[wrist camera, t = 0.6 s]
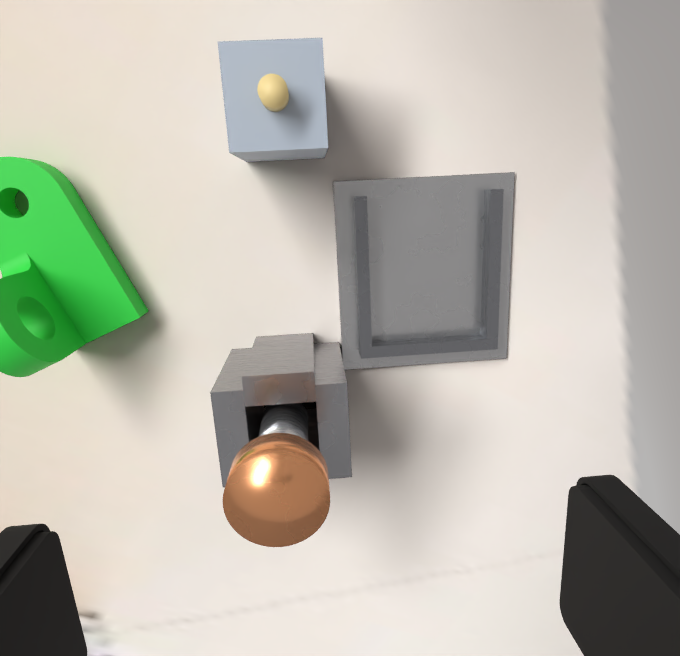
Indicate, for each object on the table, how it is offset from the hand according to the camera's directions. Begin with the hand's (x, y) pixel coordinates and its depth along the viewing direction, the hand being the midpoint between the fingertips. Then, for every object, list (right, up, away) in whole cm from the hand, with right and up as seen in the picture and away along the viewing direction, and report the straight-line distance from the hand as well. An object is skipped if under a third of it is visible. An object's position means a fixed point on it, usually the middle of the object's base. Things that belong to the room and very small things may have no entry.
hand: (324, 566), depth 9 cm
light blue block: (-3, +18, +22) cm, 28 cm away
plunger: (-3, -1, +21) cm, 21 cm away
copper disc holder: (-3, 0, +26) cm, 27 cm away
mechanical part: (-18, +10, +23) cm, 31 cm away
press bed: (+6, +9, +25) cm, 27 cm away
